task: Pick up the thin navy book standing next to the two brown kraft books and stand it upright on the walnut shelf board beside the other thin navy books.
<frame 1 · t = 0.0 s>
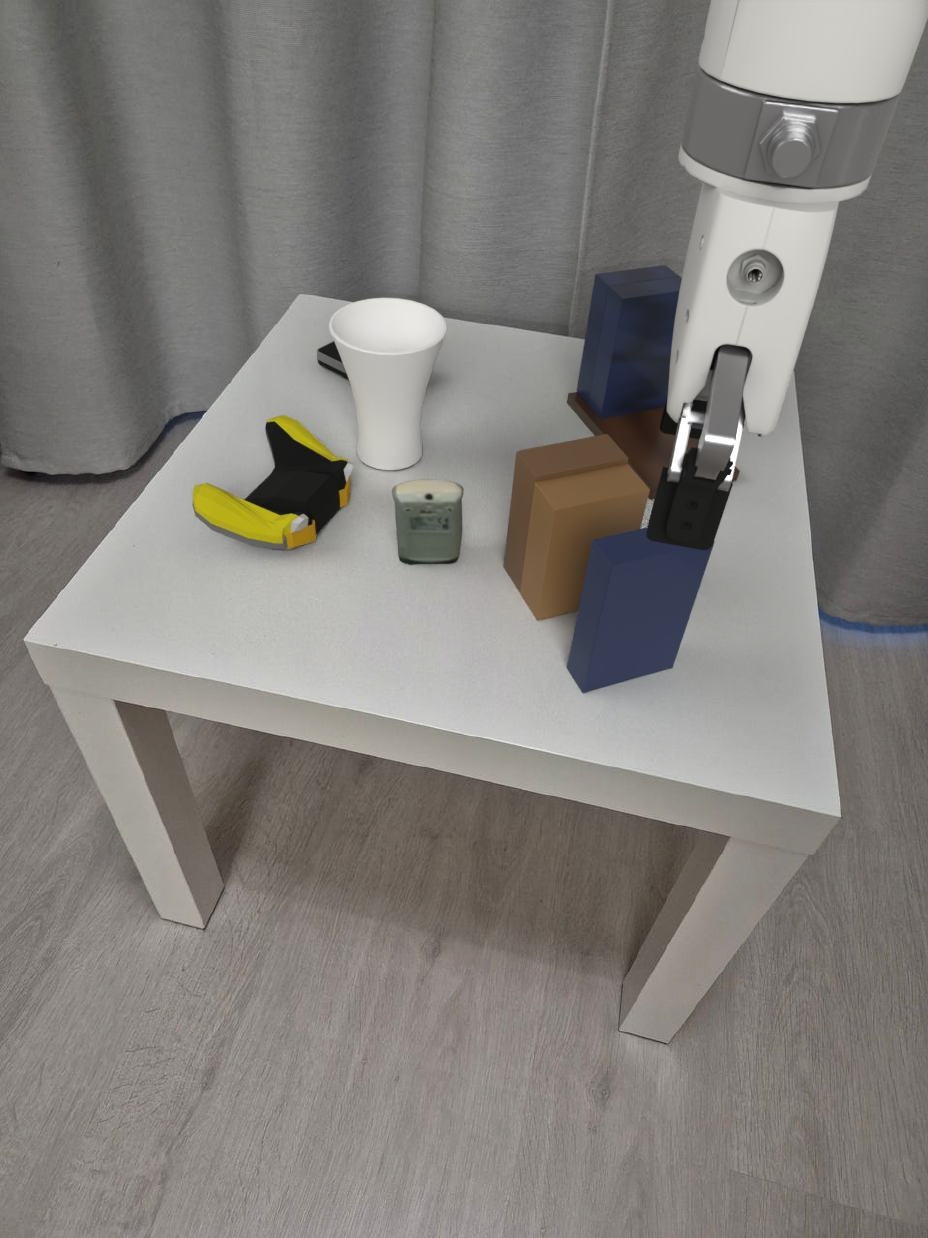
hand: (682, 484, 46), 23 cm above the table, tool pointing down, fingers open, 9 cm apart
gaming controller: (285, 512, 80), on the table
navy book: (619, 667, 68), on the table
shelf: (647, 439, 91), on the table
cup: (389, 453, 87), on the table
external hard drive: (373, 374, 98), on the table
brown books: (562, 582, 75), on the table
power adapter: (425, 559, 77), on the table
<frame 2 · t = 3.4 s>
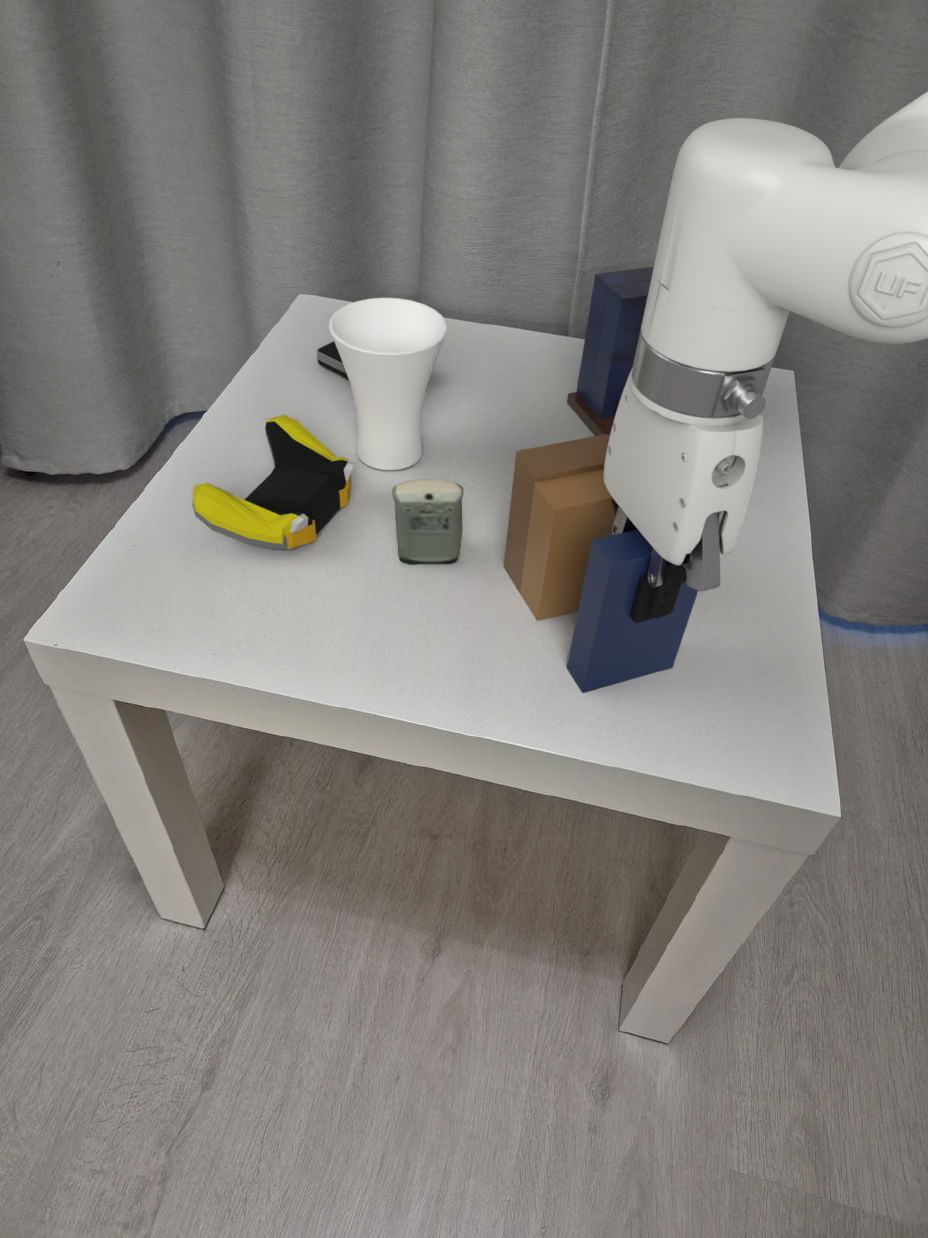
hand: (638, 597, 63), 8 cm above the table, tool pointing down, fingers closed on navy book, 2 cm apart
navy book: (619, 667, 68), on the table, touching gripper
everything else where it was.
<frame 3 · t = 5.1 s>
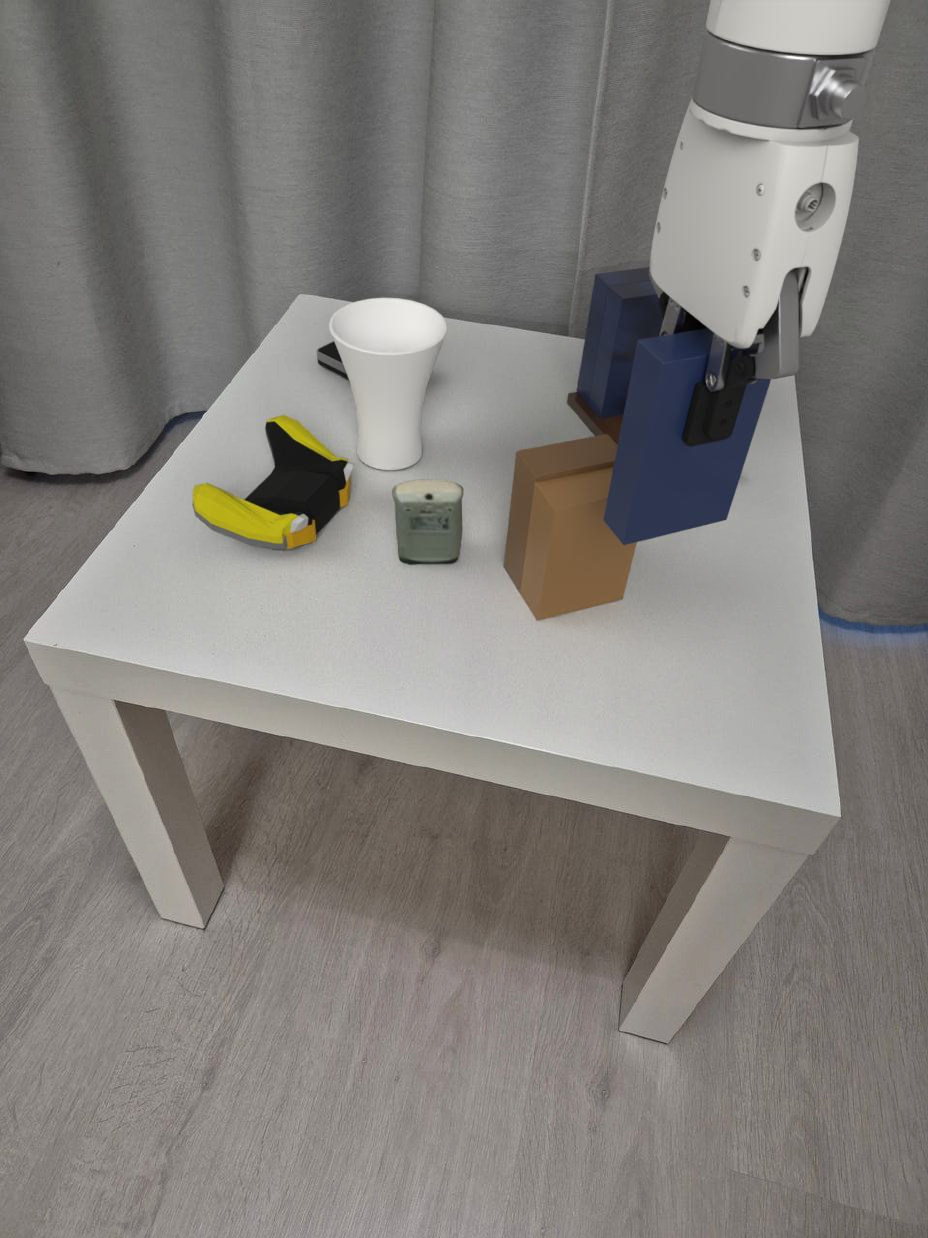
hand: (690, 422, 54), 22 cm above the table, tool pointing down, fingers closed on navy book, 2 cm apart
navy book: (665, 520, 59), point 14 cm above the table, touching gripper
everything else where it was.
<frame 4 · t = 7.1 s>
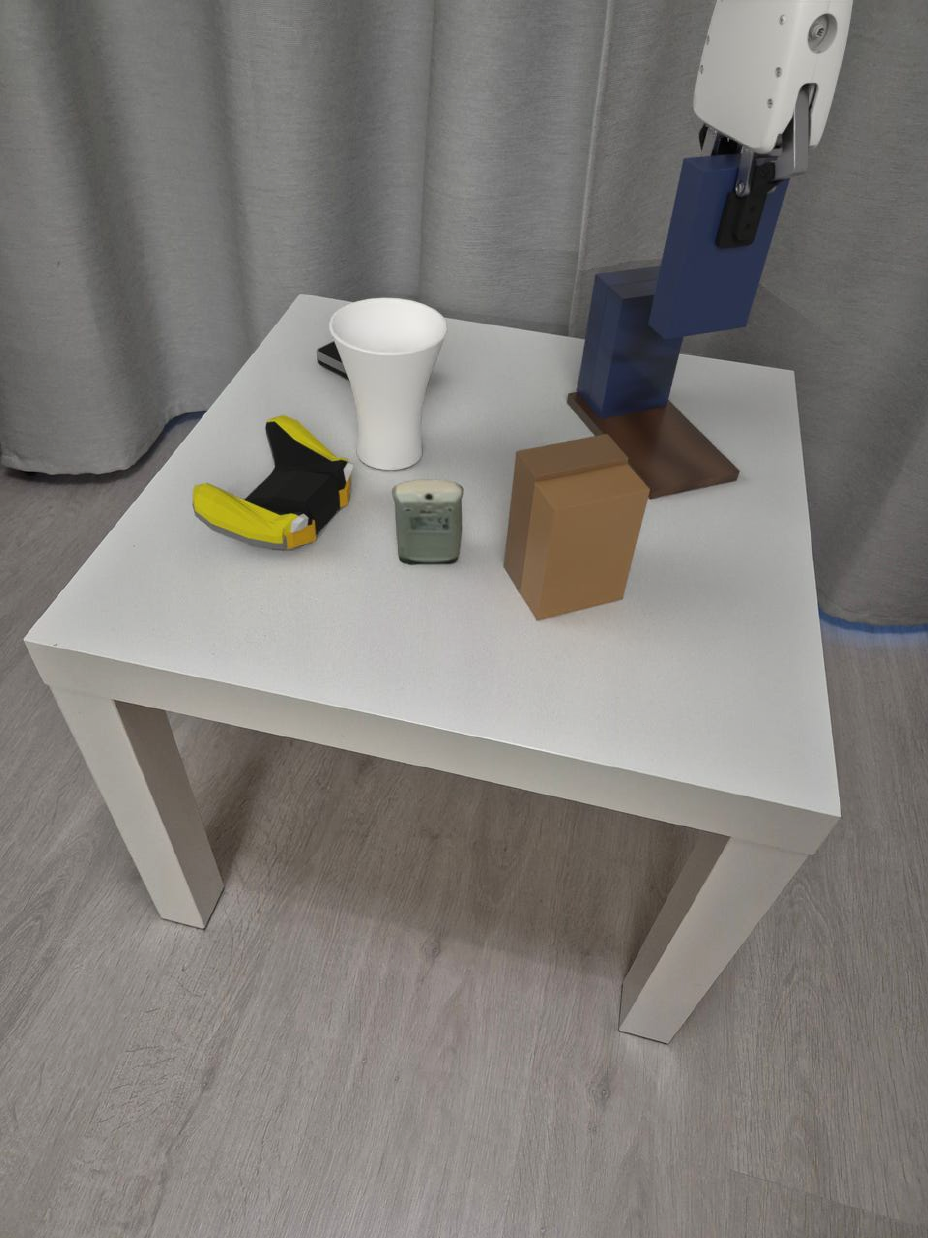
hand: (721, 234, 68), 24 cm above the table, tool pointing down, fingers closed on navy book, 2 cm apart
navy book: (697, 325, 74), point 17 cm above the table, touching gripper
everything else where it was.
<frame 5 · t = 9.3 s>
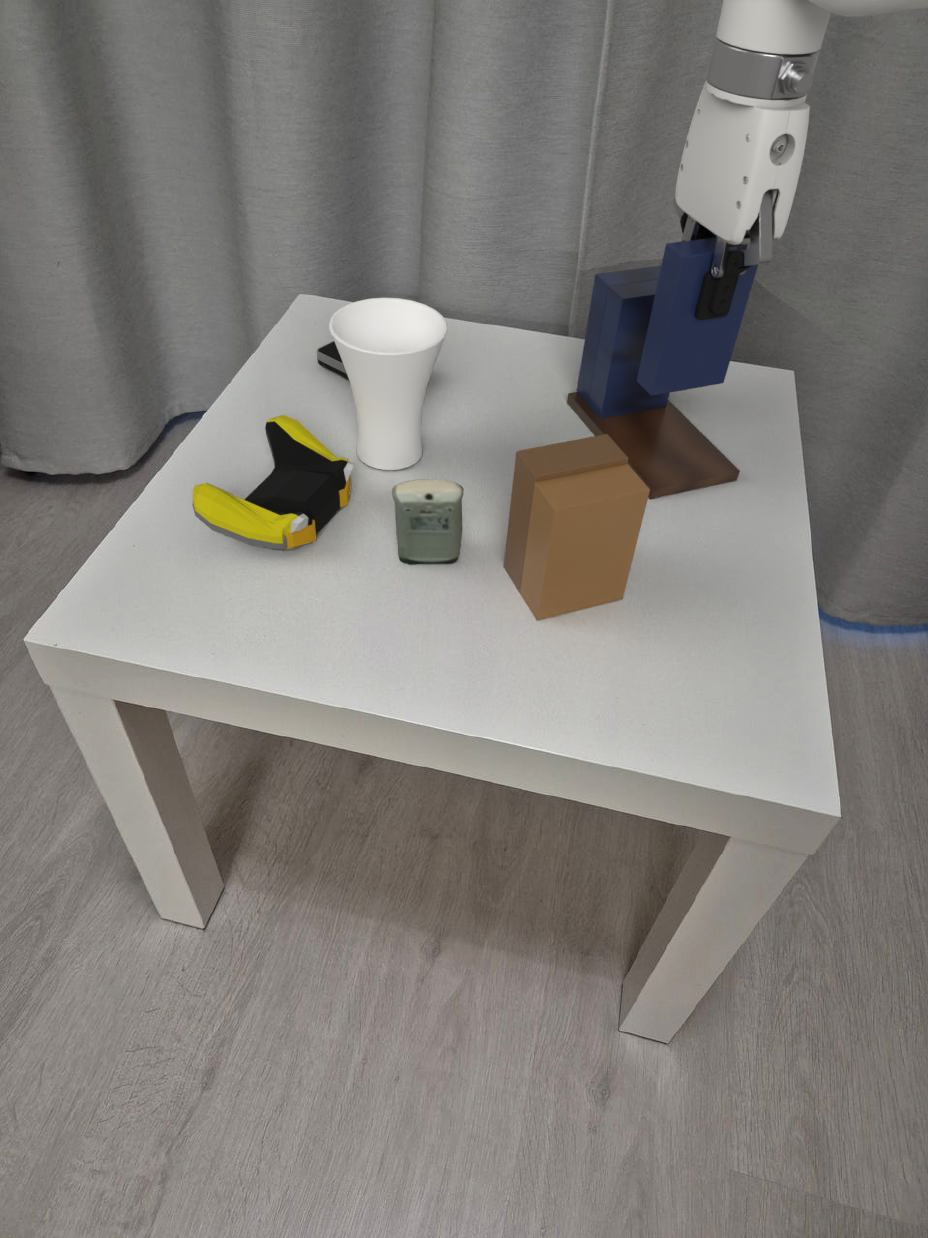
hand: (700, 305, 78), 16 cm above the table, tool pointing down, fingers closed on navy book, 2 cm apart
navy book: (680, 382, 83), point 8 cm above the table, touching gripper
everything else where it was.
when the fingers open (9 cm above the table, at t = 11.1 s): navy book stays where it is, resting on shelf.
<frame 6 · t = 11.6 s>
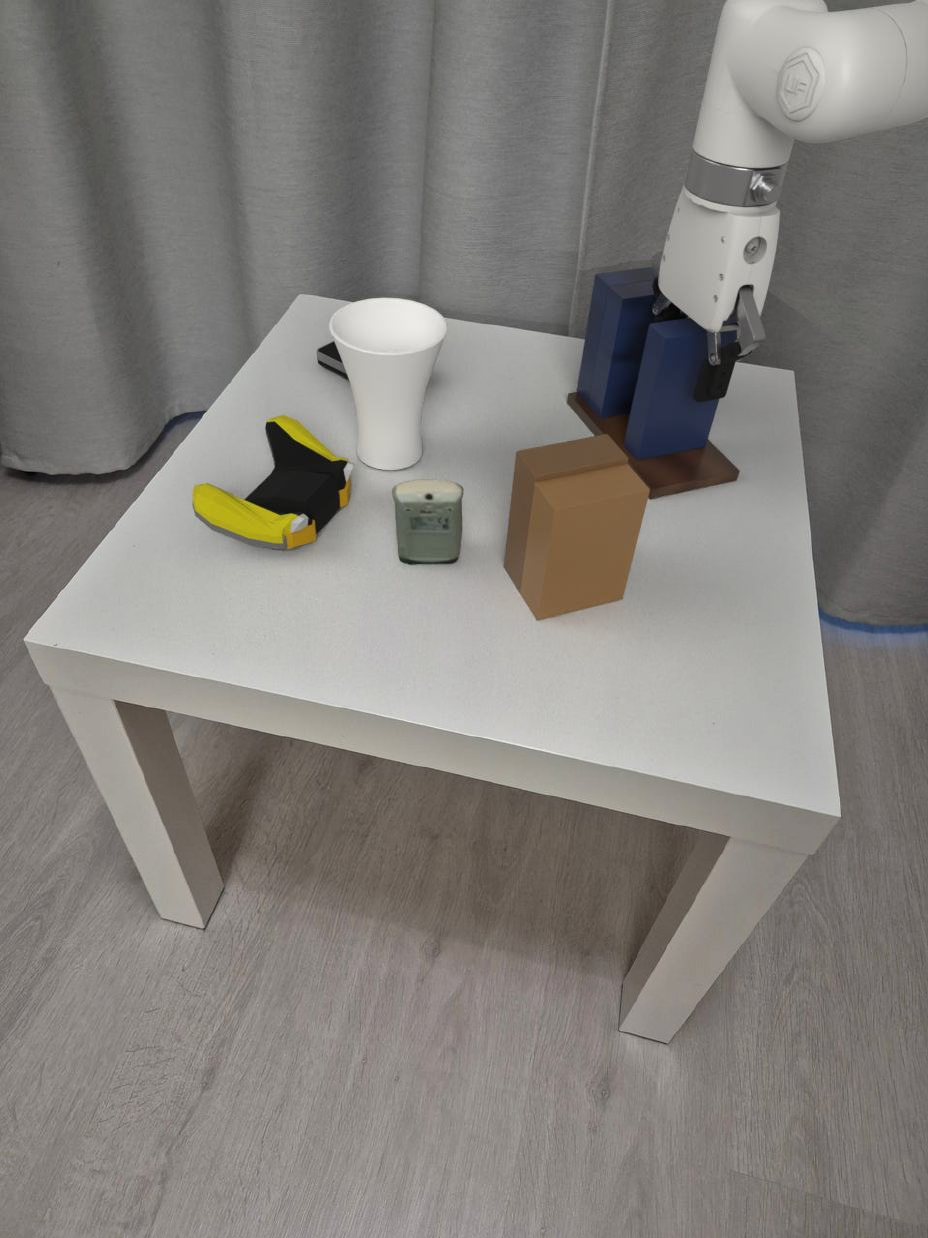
hand: (684, 375, 82), 9 cm above the table, tool pointing down, fingers open, 7 cm apart
navy book: (664, 446, 88), point 1 cm above the table, touching shelf
everything else where it was.
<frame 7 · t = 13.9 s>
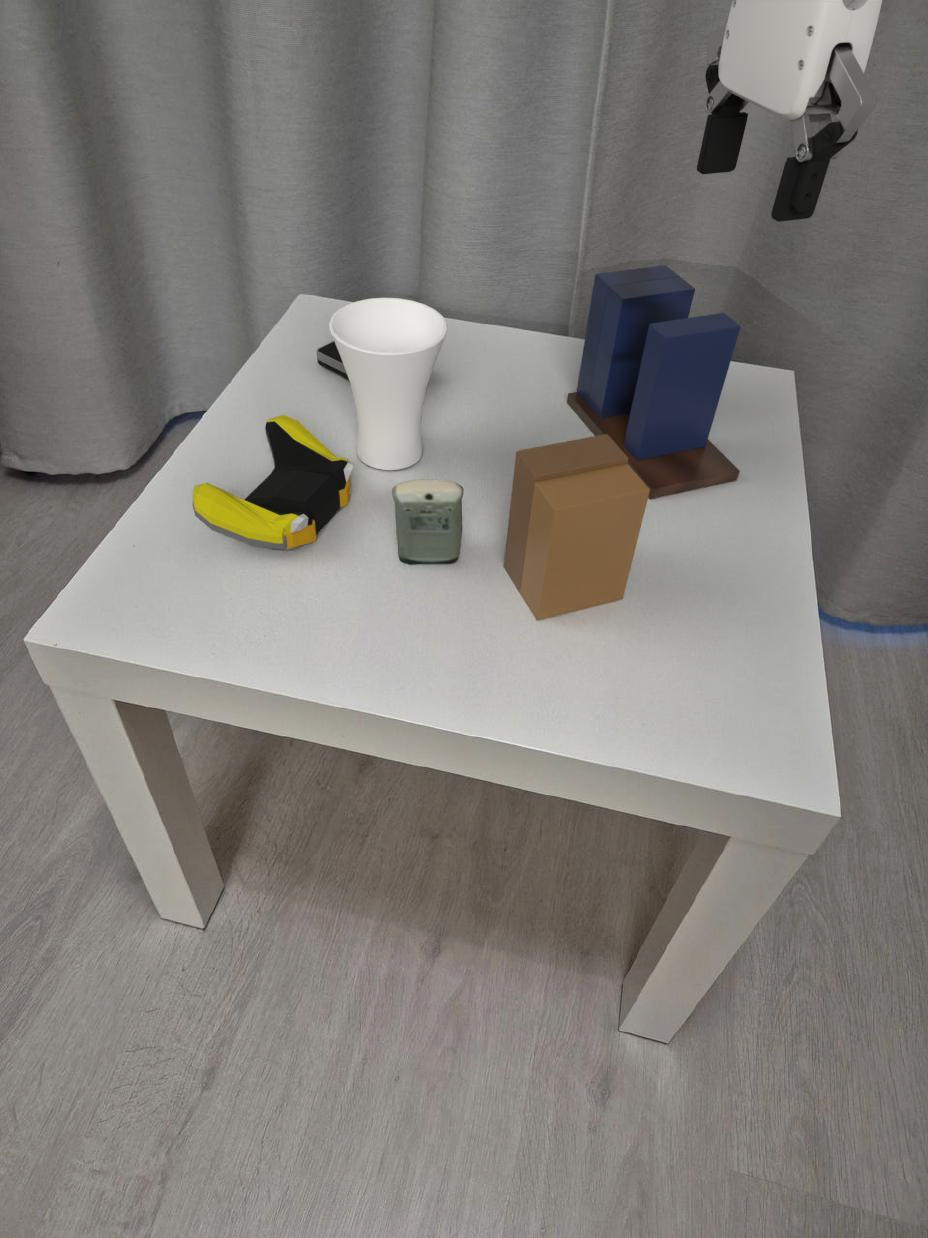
hand: (751, 193, 65), 28 cm above the table, tool pointing down, fingers open, 9 cm apart
nothing on the table moved.
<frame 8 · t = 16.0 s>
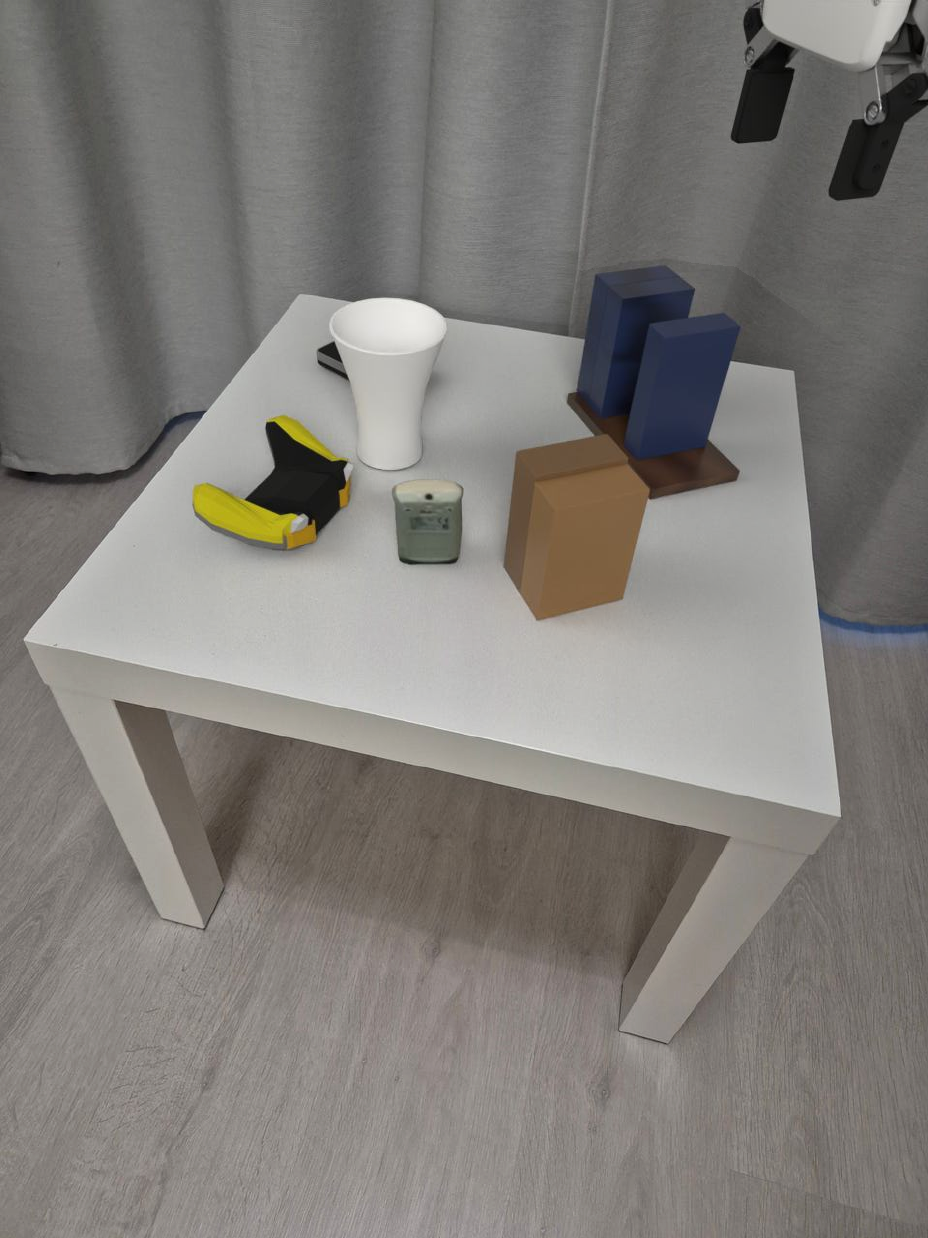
hand: (799, 167, 53), 33 cm above the table, tool pointing down, fingers open, 9 cm apart
nothing on the table moved.
at the end: navy book inside the target area on the shelf (0.3 cm from its centre), point 1.2 cm above the shelf's base; navy book tilted 0° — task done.
